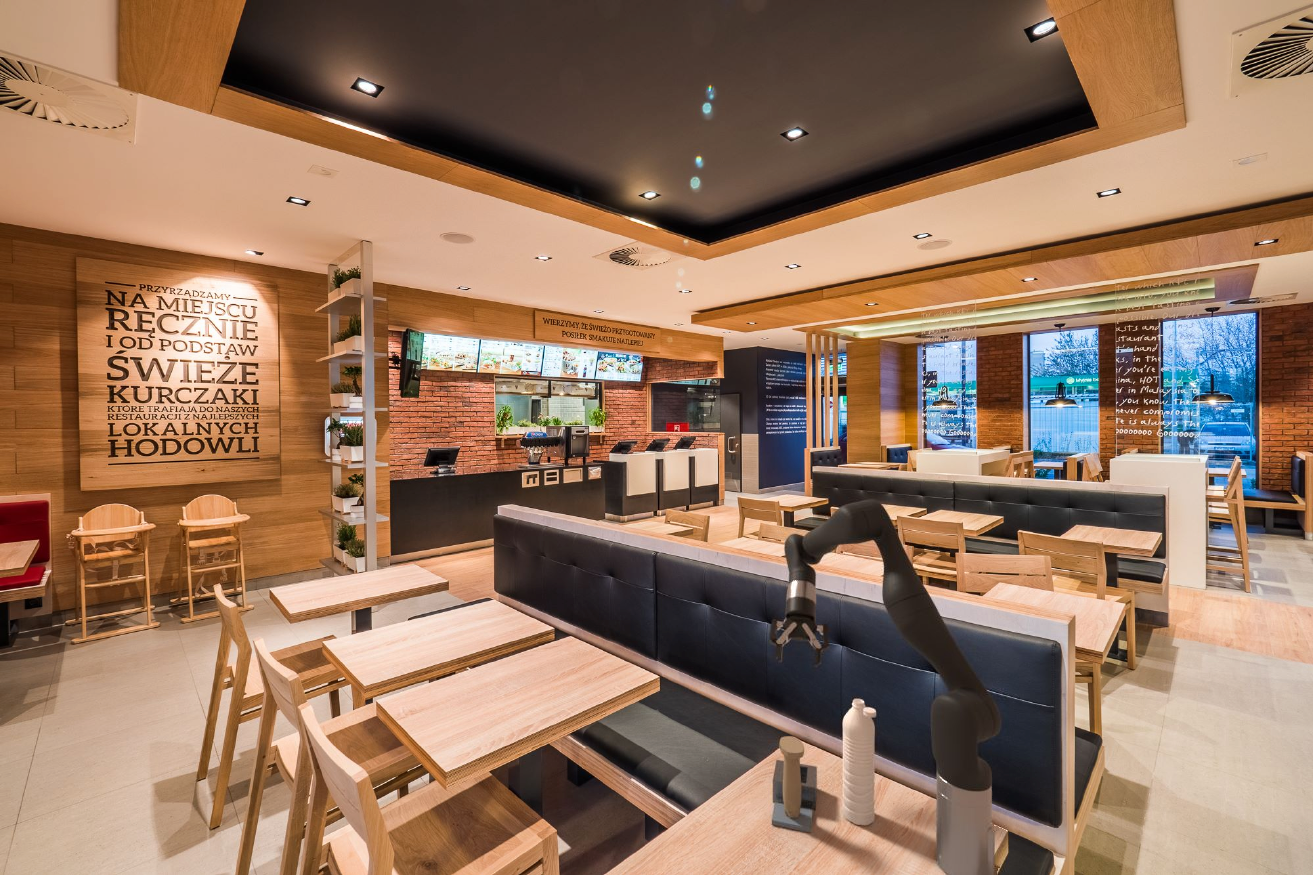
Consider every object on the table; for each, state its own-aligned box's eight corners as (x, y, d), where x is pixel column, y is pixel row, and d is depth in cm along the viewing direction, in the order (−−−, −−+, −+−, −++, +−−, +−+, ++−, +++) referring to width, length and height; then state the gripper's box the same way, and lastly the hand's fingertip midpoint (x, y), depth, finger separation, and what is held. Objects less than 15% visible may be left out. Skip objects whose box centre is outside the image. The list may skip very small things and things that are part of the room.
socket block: (816, 787, 132) (816, 766, 132) (815, 810, 124) (815, 787, 124) (776, 780, 134) (776, 759, 134) (772, 802, 127) (772, 779, 126)
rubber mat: (812, 814, 123) (812, 809, 123) (811, 832, 117) (811, 827, 117) (774, 806, 125) (774, 802, 125) (771, 824, 119) (771, 819, 119)
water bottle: (836, 807, 125) (837, 694, 124) (863, 804, 126) (864, 692, 126) (858, 835, 116) (858, 714, 116) (887, 831, 117) (887, 711, 117)
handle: (784, 824, 118) (784, 753, 118) (777, 804, 124) (776, 736, 124) (807, 824, 118) (807, 752, 118) (799, 803, 124) (798, 735, 124)
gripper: (772, 592, 147) (766, 653, 137) (829, 597, 143) (828, 660, 132) (774, 607, 152) (769, 666, 142) (829, 612, 148) (828, 673, 137)
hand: (797, 663), depth 137 cm, fingers open, 8 cm apart
